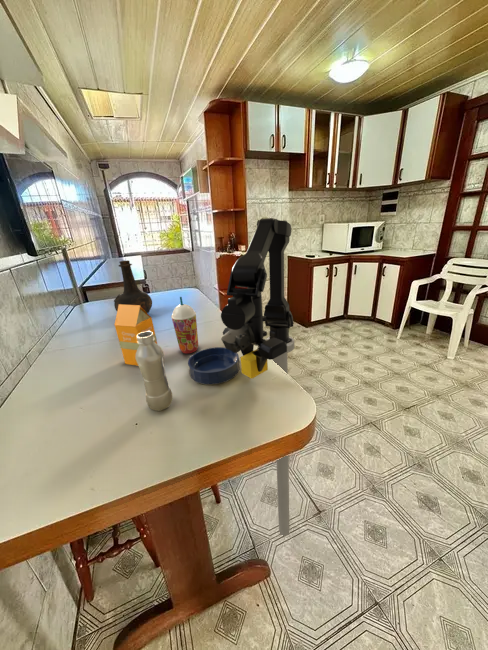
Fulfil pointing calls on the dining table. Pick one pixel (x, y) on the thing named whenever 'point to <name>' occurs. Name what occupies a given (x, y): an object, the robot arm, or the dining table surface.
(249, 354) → the sponge
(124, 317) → the orange juice
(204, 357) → the bowl
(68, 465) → the dining table surface
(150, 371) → the plastic bottle
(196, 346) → the smoothie
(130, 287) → the glass bottle
